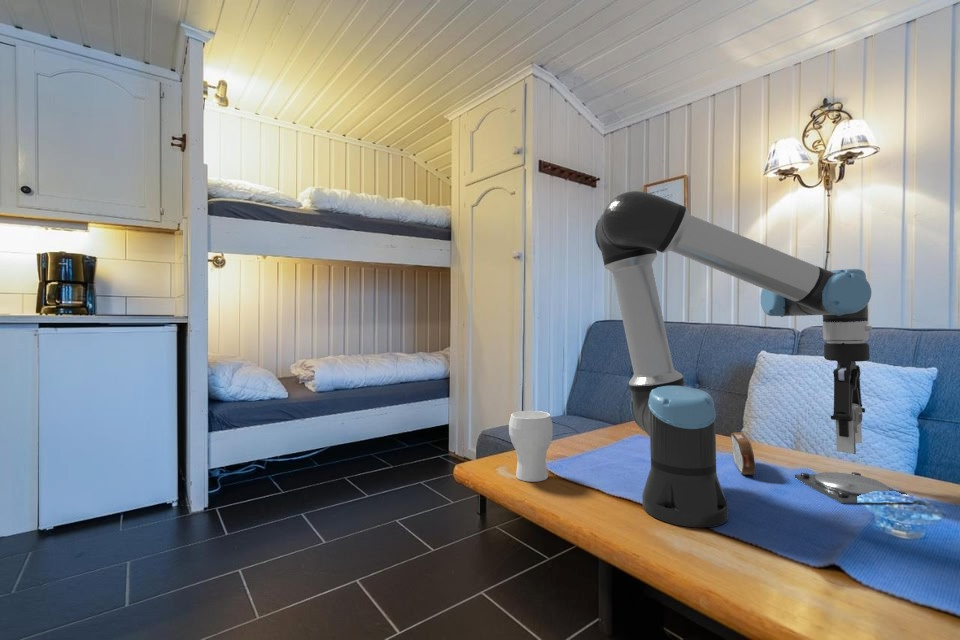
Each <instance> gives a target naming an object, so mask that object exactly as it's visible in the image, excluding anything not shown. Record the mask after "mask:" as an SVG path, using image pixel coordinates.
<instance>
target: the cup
mask: <svg viewBox="0 0 960 640" xmlns="http://www.w3.org/2000/svg"><path fill="white" fill-rule="evenodd" d="M553 427H554V425H553V421H552V416H551V414H550V413H549V412H547V411H546V412H545V411H540V410H522V411H521V410H520V411H516V412H512V413H511V414H510V419H509V422H508V434H509V437H510V441H511V444H512V446H513V447H514V450H515V453H516V458H517V464H516V471H515V473H516V474H515V477H516V478H517V480H519V481H523V482H531V483H532V482H533V483H534V482H542V481H545V480H547V479H548V478H549V474H548V473H549V472H548V467H547V462H546V459H547V452H548V450H549V447H550V445H551V444H552V439H553V436H554V428H553Z"/></svg>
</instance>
